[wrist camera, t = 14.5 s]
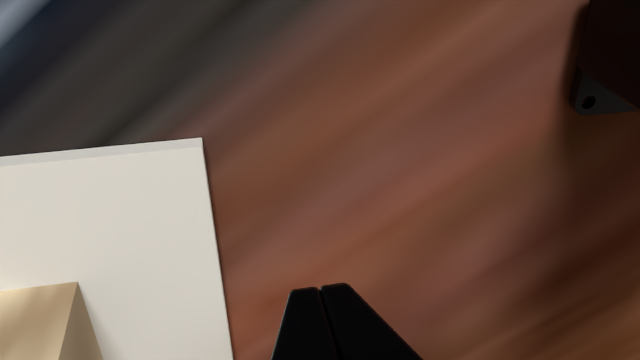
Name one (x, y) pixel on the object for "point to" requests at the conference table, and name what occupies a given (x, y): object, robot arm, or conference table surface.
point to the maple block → (46, 324)
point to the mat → (121, 244)
